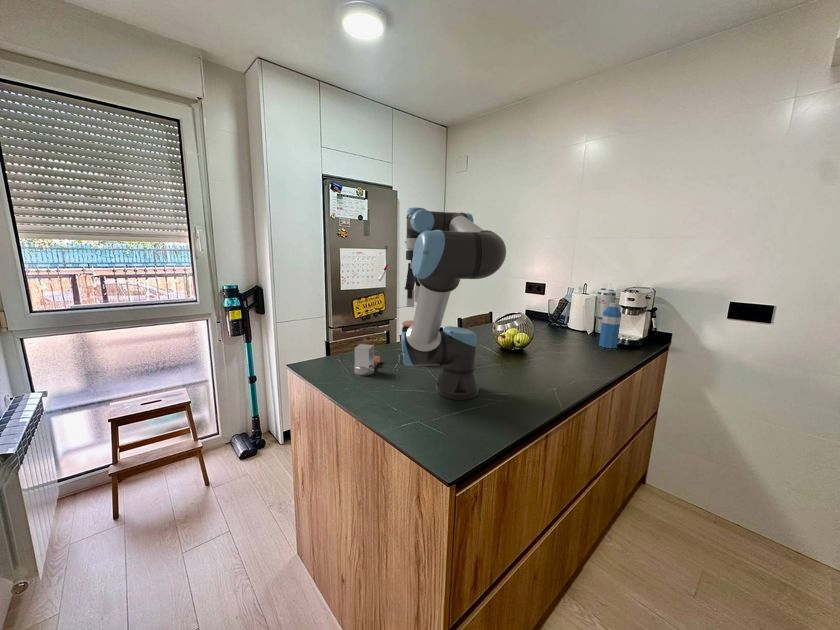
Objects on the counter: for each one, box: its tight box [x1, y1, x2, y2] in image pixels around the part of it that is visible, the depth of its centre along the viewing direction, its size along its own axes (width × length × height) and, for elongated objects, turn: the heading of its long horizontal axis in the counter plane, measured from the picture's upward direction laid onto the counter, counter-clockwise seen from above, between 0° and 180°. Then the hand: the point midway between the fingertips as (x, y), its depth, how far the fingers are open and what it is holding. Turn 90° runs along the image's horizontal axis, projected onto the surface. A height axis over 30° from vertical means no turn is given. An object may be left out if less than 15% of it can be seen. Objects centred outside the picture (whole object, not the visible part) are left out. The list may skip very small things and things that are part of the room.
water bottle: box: [598, 302, 622, 349], centre depth 182 cm, size 9×9×25 cm
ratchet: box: [354, 355, 381, 377], centre depth 140 cm, size 18×8×7 cm, turn 168°
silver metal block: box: [354, 343, 375, 368], centre depth 135 cm, size 6×6×8 cm
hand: (414, 304), depth 132 cm, fingers open, 13 cm apart
